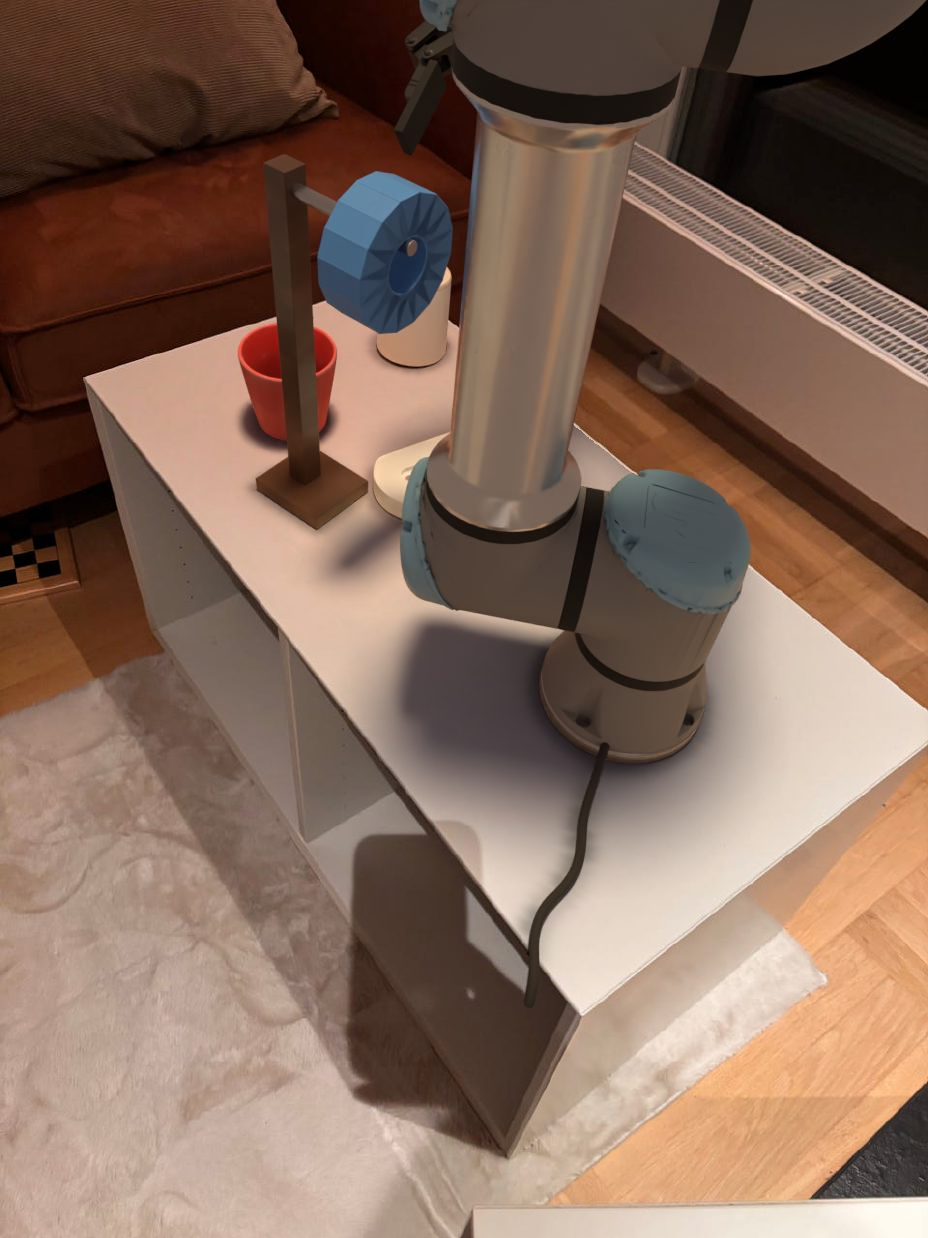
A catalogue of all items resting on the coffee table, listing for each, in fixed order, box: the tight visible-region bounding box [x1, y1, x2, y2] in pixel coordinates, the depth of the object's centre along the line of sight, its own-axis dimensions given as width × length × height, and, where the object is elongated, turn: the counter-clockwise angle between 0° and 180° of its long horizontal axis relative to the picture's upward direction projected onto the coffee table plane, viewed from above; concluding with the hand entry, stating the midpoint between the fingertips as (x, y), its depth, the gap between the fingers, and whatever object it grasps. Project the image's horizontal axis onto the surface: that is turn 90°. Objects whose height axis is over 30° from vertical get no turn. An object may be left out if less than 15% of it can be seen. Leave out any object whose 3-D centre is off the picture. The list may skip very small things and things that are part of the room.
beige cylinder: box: [375, 267, 452, 367], centre depth 116 cm, size 11×9×10 cm
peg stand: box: [255, 153, 417, 530], centre depth 86 cm, size 17×8×35 cm, turn 52°
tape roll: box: [316, 170, 454, 334], centre depth 73 cm, size 4×11×11 cm, turn 142°
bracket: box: [372, 431, 450, 520], centre depth 102 cm, size 20×9×7 cm, turn 123°
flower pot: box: [237, 322, 338, 442], centre depth 104 cm, size 11×11×10 cm
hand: (477, 164), depth 71 cm, fingers open, 13 cm apart
